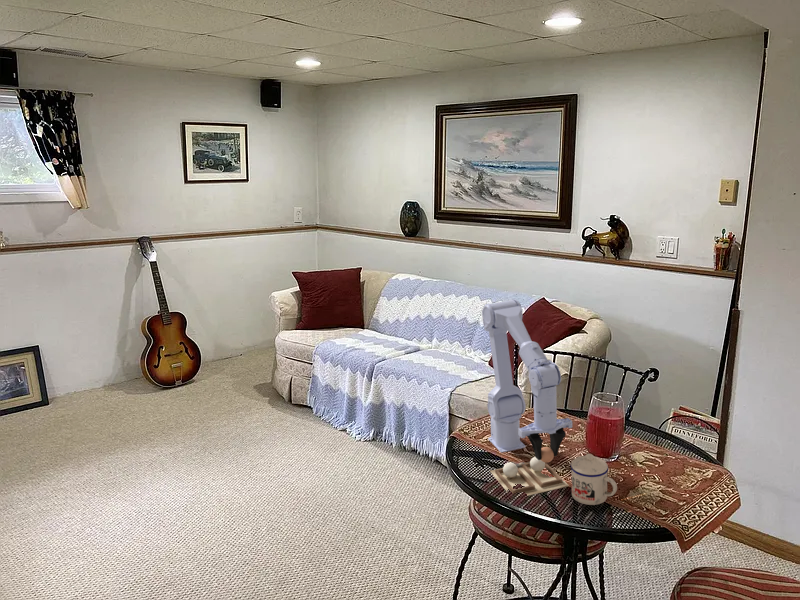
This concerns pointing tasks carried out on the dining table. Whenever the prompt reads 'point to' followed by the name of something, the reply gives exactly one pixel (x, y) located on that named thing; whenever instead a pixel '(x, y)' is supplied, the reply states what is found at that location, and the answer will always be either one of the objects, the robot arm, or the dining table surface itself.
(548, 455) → the ball terracotta
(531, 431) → the robot arm
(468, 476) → the dining table surface
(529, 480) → the trough board
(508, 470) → the cream ball
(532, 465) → the cream ball
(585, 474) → the teacup with lid
